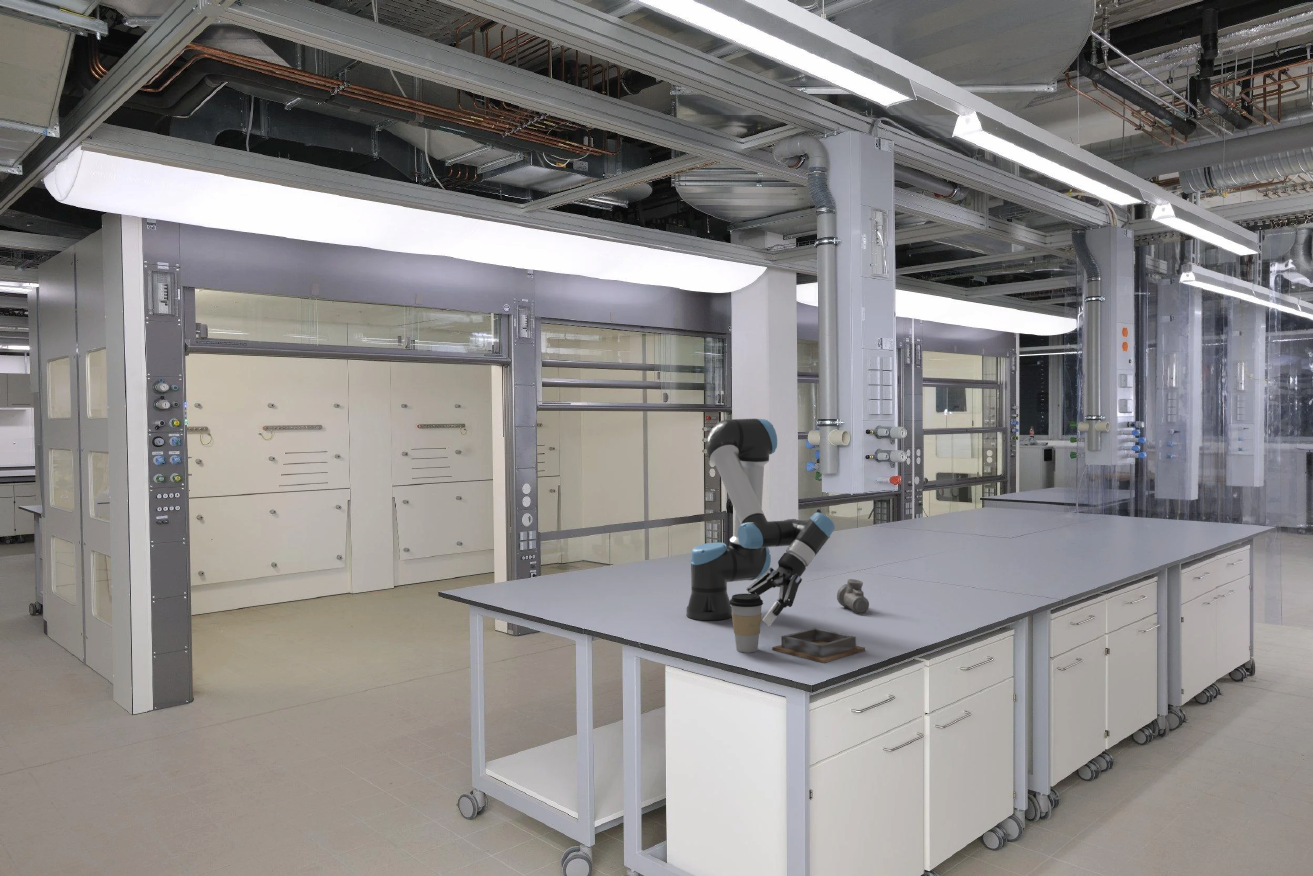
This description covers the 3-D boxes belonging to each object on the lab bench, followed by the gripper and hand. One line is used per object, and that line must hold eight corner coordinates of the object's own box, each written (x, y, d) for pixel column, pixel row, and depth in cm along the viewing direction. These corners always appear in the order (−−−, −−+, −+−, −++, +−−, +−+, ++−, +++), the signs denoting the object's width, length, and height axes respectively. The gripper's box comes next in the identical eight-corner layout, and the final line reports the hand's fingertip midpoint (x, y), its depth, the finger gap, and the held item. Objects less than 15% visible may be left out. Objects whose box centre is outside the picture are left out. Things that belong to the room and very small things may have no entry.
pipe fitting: (834, 605, 299) (838, 576, 297) (857, 606, 300) (860, 577, 299) (847, 617, 287) (851, 587, 286) (871, 618, 288) (874, 588, 287)
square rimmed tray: (772, 650, 245) (772, 636, 245) (814, 638, 256) (813, 625, 256) (823, 663, 231) (823, 648, 231) (865, 650, 243) (865, 636, 242)
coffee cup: (759, 655, 239) (758, 600, 239) (725, 652, 242) (725, 598, 242) (767, 646, 248) (766, 594, 248) (734, 644, 251) (734, 592, 251)
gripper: (830, 574, 241) (786, 636, 234) (779, 562, 263) (737, 618, 257) (814, 557, 238) (768, 618, 232) (763, 546, 261) (721, 602, 254)
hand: (752, 618), depth 244 cm, fingers open, 13 cm apart
